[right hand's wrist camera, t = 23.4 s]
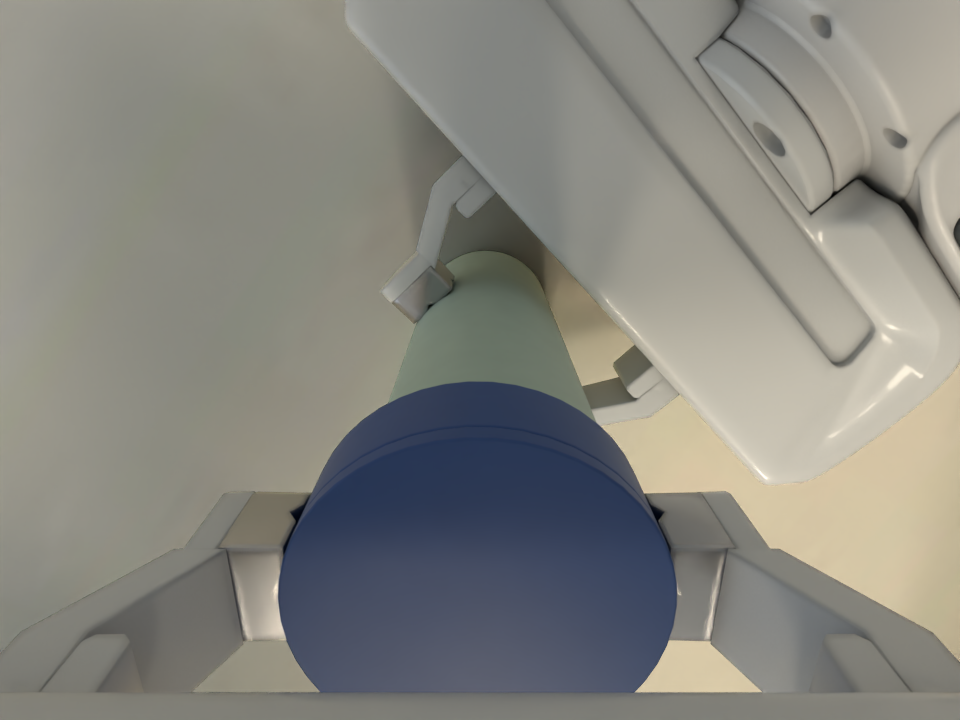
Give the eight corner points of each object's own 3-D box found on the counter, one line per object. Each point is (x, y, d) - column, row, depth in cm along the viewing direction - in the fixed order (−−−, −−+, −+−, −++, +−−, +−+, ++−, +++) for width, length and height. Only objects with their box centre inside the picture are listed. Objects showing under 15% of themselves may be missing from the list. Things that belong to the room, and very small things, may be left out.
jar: (505, 387, 25) (536, 718, 11) (403, 330, 24) (289, 609, 10) (569, 290, 24) (705, 525, 9) (463, 226, 23) (432, 376, 8)
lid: (394, 319, 9) (374, 364, 7) (709, 469, 10) (761, 543, 8) (265, 588, 11) (223, 679, 9) (541, 694, 12) (552, 794, 10)
